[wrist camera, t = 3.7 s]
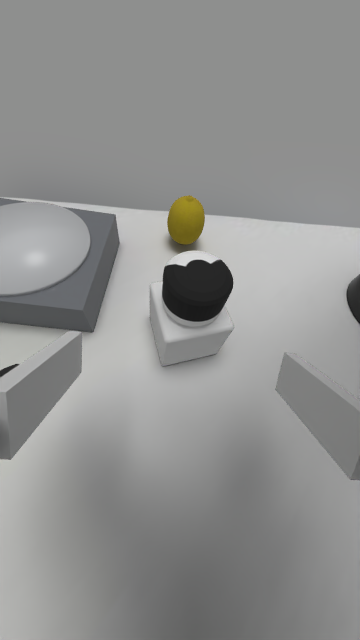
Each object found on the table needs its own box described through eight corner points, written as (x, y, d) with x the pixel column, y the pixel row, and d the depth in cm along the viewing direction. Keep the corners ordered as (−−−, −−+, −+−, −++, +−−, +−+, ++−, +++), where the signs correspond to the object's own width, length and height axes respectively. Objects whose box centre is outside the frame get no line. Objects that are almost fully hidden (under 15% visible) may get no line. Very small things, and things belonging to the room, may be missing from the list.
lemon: (188, 228, 39) (196, 182, 32) (205, 249, 37) (217, 204, 30) (160, 236, 37) (162, 188, 30) (176, 259, 35) (182, 213, 28)
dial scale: (120, 240, 36) (115, 207, 31) (93, 332, 27) (81, 307, 23) (3, 224, 35) (-21, 187, 30) (-63, 315, 26) (-111, 285, 21)
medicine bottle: (217, 354, 28) (256, 298, 18) (161, 367, 26) (169, 314, 16) (199, 307, 31) (224, 237, 21) (149, 316, 29) (148, 245, 19)
